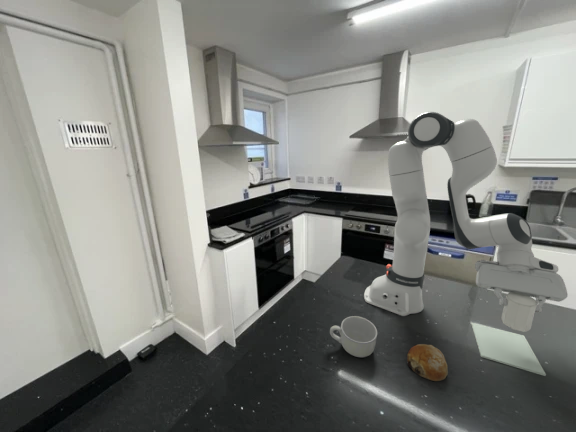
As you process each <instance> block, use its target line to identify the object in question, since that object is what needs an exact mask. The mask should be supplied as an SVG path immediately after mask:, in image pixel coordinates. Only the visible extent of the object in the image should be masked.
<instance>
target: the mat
mask: <svg viewBox="0 0 576 432" xmlns="http://www.w3.org/2000/svg"><path fill="white" fill-rule="evenodd" d="M471 327H472V331H473V335H474V338H475V341H476V345H477V347H478V351H479V355H480V357H481V358H484V359H486V360H491V361H494V362H497V363H501V364H504V365H507V366H510V367H513V368H518V369H520V370H523V371H527V372H530V373H533V374H537V375H541V376H544V377H546V375H547V373H546V372H545V370H544V368H543V367H542V365H541V363H540V362H539V359H538V357H537V356H536V354H535V353H534V351H533V349H532V347H531V346H530V344H529V341H528V340H527V338H526V337H525V335H523V334H519V333H516V332H511V331H507V330H503V329H499V328H496V327H495V328H494V327H492V326H488V325H484V324H481V323H475V322H471Z"/></svg>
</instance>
